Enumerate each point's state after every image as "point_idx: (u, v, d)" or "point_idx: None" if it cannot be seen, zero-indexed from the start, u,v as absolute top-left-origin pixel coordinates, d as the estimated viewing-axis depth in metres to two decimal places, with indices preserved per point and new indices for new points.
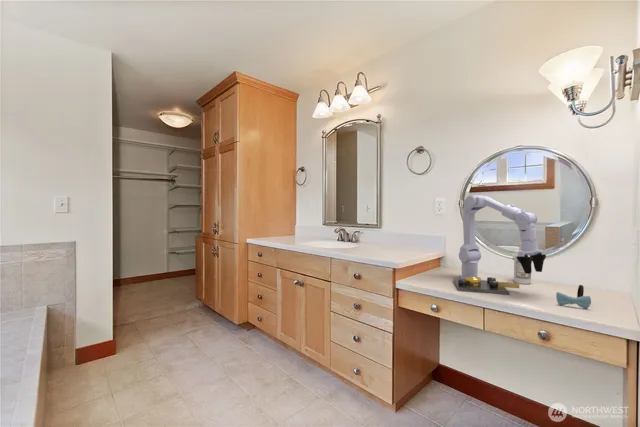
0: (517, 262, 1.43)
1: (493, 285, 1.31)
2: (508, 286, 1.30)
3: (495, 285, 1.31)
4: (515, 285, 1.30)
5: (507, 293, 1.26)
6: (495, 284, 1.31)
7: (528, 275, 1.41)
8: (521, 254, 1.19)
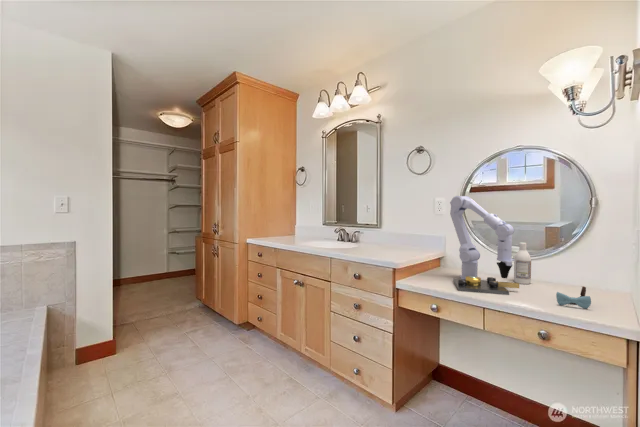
0: (517, 262, 1.43)
1: (493, 285, 1.31)
2: (508, 286, 1.30)
3: (495, 285, 1.31)
4: (515, 285, 1.30)
5: (507, 293, 1.26)
6: (495, 284, 1.31)
7: (528, 275, 1.41)
8: (510, 264, 1.30)
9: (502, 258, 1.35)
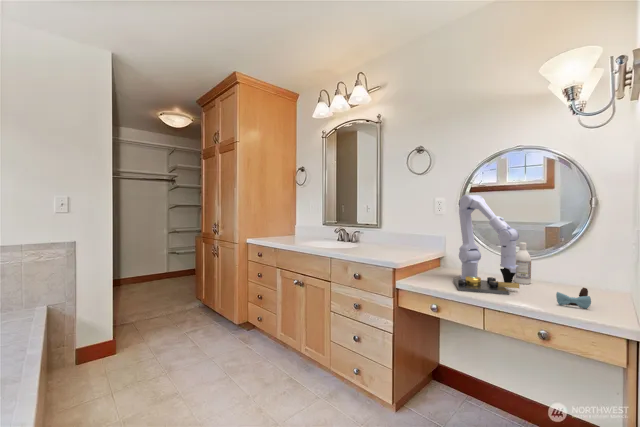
0: (517, 262, 1.43)
1: (493, 285, 1.31)
2: (508, 286, 1.30)
3: (495, 285, 1.31)
4: (515, 285, 1.30)
5: (507, 293, 1.26)
6: (495, 284, 1.31)
7: (528, 275, 1.41)
8: (514, 270, 1.25)
9: (506, 264, 1.30)
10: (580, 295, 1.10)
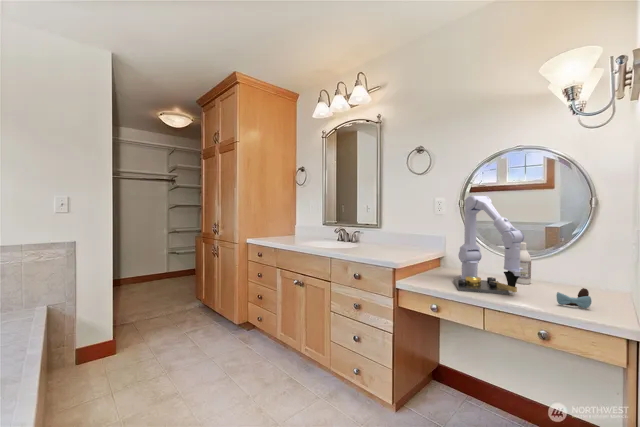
0: None
1: (490, 284, 1.32)
2: (505, 288, 1.27)
3: (491, 285, 1.32)
4: (511, 288, 1.25)
5: (507, 293, 1.26)
6: (491, 284, 1.32)
7: (528, 275, 1.41)
8: (519, 274, 1.20)
9: (510, 267, 1.25)
10: (579, 295, 1.10)
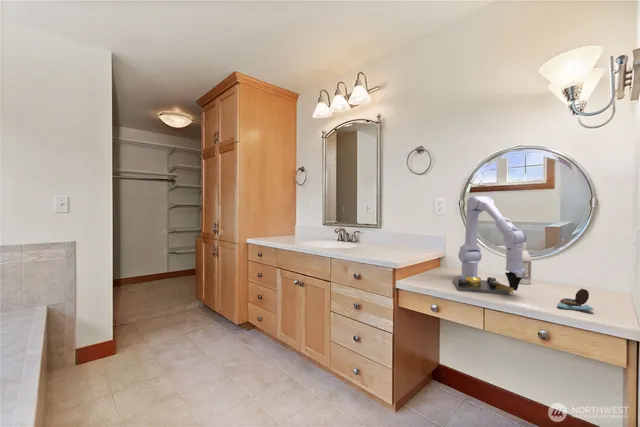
0: None
1: (489, 284, 1.33)
2: (502, 288, 1.27)
3: (490, 284, 1.32)
4: (508, 289, 1.24)
5: (507, 293, 1.26)
6: (490, 283, 1.32)
7: (528, 275, 1.41)
8: (521, 275, 1.17)
9: (512, 268, 1.22)
10: (576, 296, 1.09)
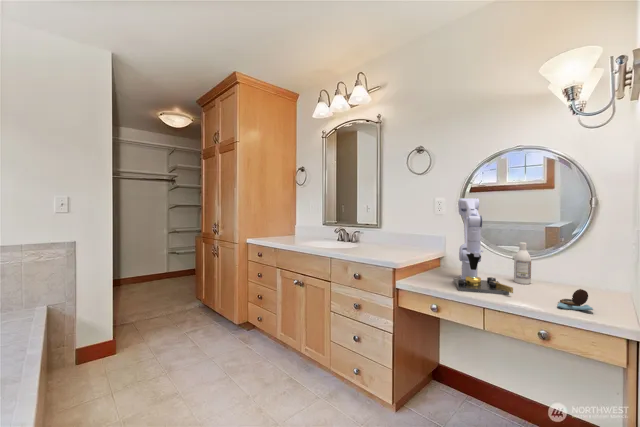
0: (517, 262, 1.43)
1: (489, 284, 1.33)
2: (502, 288, 1.27)
3: (490, 284, 1.32)
4: (508, 289, 1.24)
5: (507, 293, 1.26)
6: (490, 283, 1.32)
7: (528, 275, 1.41)
8: (478, 255, 1.30)
9: (471, 249, 1.35)
10: (573, 296, 1.09)
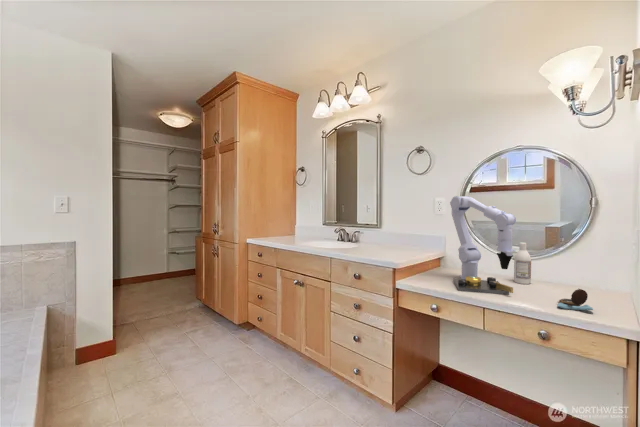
0: (517, 262, 1.43)
1: (489, 284, 1.33)
2: (502, 288, 1.27)
3: (490, 284, 1.32)
4: (508, 289, 1.24)
5: (507, 293, 1.26)
6: (490, 283, 1.32)
7: (528, 275, 1.41)
8: (511, 254, 1.26)
9: (502, 248, 1.31)
10: (572, 296, 1.10)
